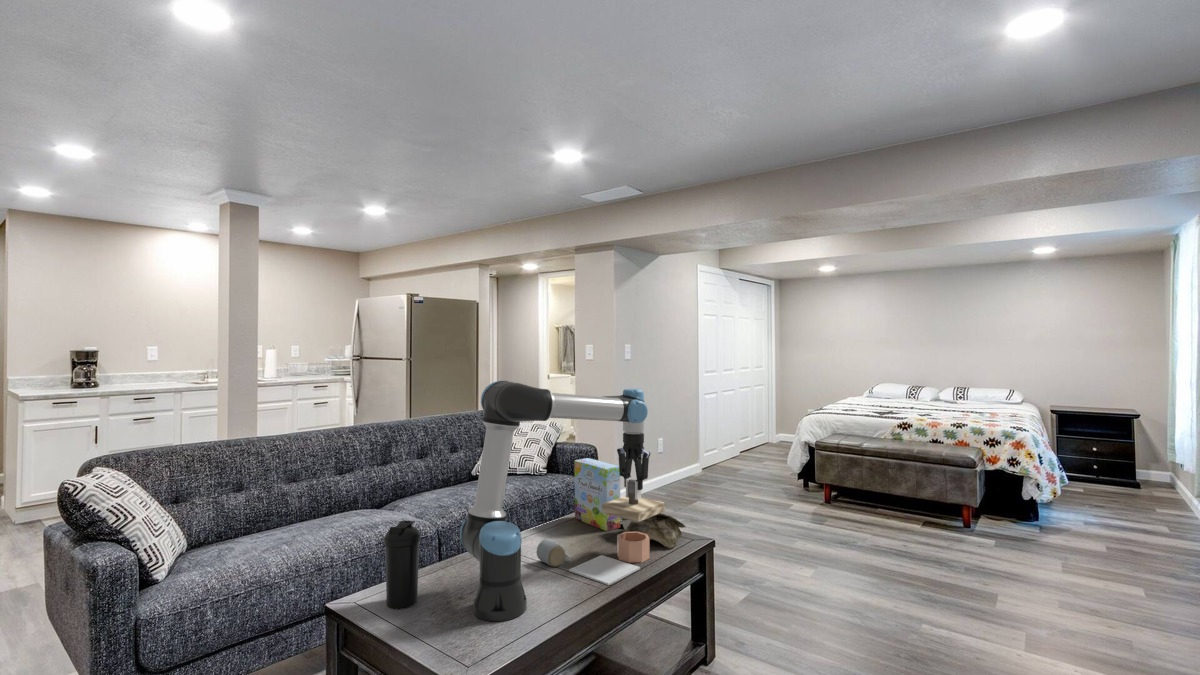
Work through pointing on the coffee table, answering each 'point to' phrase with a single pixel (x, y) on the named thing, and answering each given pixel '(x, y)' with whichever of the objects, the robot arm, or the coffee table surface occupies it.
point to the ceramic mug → (551, 553)
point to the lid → (633, 506)
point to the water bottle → (402, 565)
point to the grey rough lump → (657, 528)
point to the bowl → (633, 547)
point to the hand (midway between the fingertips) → (633, 497)
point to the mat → (604, 569)
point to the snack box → (596, 492)
